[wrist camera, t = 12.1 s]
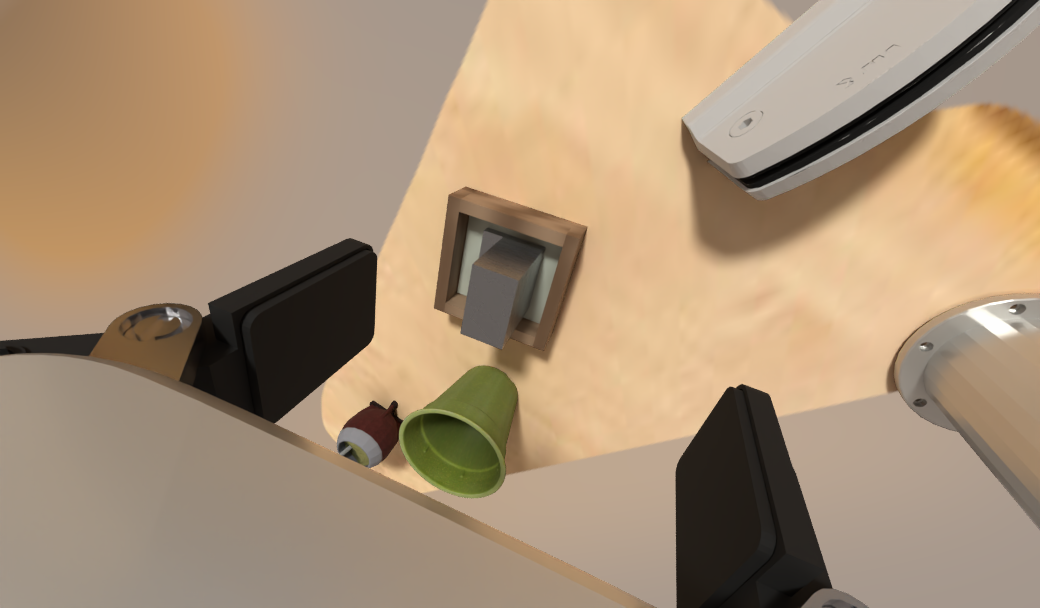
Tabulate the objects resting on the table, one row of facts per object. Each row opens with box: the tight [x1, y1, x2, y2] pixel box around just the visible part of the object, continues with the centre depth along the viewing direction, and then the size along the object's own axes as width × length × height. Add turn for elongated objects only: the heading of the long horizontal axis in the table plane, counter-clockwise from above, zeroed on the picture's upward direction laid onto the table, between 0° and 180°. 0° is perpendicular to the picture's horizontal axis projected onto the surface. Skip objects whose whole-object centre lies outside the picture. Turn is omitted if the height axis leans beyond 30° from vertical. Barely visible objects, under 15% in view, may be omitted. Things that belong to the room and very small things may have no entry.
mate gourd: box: [337, 401, 403, 468], centre depth 53 cm, size 8×8×15 cm
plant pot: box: [399, 366, 518, 498], centre depth 46 cm, size 12×12×11 cm
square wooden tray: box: [434, 187, 587, 351], centre depth 40 cm, size 12×12×4 cm
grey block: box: [461, 228, 546, 350], centre depth 37 cm, size 6×7×8 cm
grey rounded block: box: [682, 0, 1040, 200], centre depth 24 cm, size 17×5×10 cm, turn 134°
